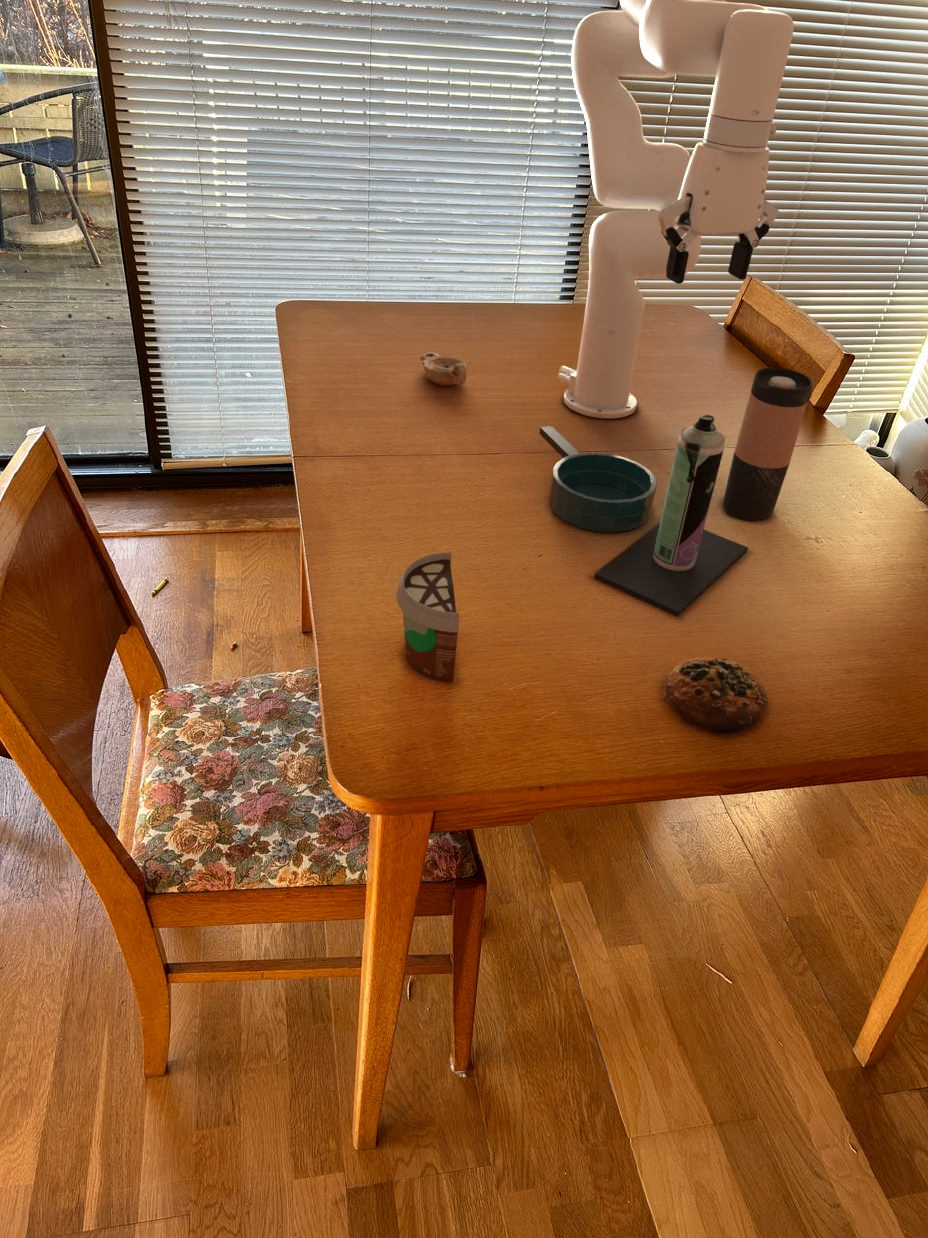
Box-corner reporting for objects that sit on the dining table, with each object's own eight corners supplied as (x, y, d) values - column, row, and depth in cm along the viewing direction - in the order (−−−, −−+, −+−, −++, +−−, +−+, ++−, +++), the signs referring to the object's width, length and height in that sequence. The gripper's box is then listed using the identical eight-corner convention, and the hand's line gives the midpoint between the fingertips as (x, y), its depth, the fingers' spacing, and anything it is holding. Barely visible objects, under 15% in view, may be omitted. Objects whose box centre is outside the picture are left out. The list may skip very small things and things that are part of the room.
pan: (529, 507, 131) (533, 476, 128) (583, 473, 141) (588, 443, 138) (616, 546, 125) (623, 513, 122) (667, 507, 134) (674, 476, 131)
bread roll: (700, 745, 95) (709, 704, 92) (640, 689, 103) (646, 650, 101) (786, 723, 99) (796, 683, 96) (721, 671, 107) (729, 633, 105)
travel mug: (775, 503, 137) (814, 373, 125) (771, 527, 131) (812, 394, 119) (723, 491, 139) (757, 362, 127) (717, 515, 133) (752, 383, 121)
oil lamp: (410, 369, 169) (411, 342, 166) (447, 364, 172) (448, 338, 169) (442, 398, 160) (443, 370, 157) (480, 392, 163) (482, 365, 160)
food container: (393, 621, 108) (395, 549, 102) (446, 621, 109) (451, 549, 103) (396, 692, 99) (398, 616, 93) (454, 691, 99) (459, 616, 93)
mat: (593, 578, 118) (594, 573, 118) (668, 520, 131) (669, 515, 131) (677, 617, 113) (679, 611, 112) (747, 552, 126) (748, 547, 125)
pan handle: (585, 467, 137) (586, 459, 136) (573, 468, 136) (574, 461, 135) (550, 432, 145) (551, 425, 144) (539, 433, 144) (539, 426, 144)
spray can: (694, 574, 119) (731, 430, 107) (651, 567, 120) (683, 423, 108) (695, 551, 123) (730, 411, 111) (653, 545, 124) (684, 404, 112)
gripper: (776, 127, 117) (743, 266, 127) (658, 127, 111) (633, 273, 122) (815, 139, 112) (777, 283, 122) (693, 139, 106) (664, 291, 116)
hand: (705, 278), depth 122 cm, fingers open, 9 cm apart
